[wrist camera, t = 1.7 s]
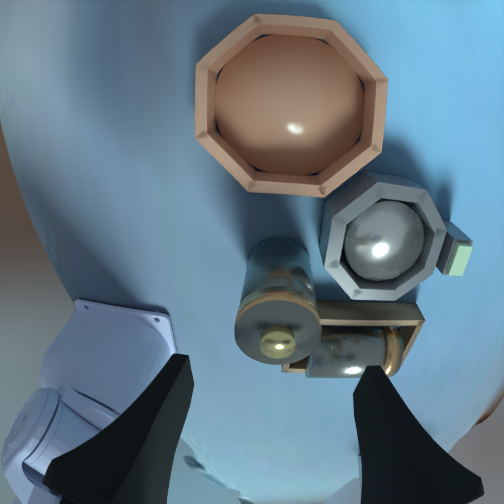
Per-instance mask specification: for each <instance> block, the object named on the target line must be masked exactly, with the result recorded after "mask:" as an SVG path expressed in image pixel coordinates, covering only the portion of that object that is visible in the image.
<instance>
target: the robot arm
mask: <svg viewBox="0 0 504 504" xmlns="http://www.w3.org/2000/svg"><path fill="white" fill-rule="evenodd" d="M74 305H75V308H76V311H75V313H74V314H73V315H72V316H71V318H70V319H69V320H68V322H67V323H66V324H65V326H64V327H63V329H62V330H61V331H60V333H59V334H58V335H57V336H56V338H55V339H54V341H53V342H52V343H51V345H50V346H49V348H48V349H47V351H46V352H45V354H44V357H43V359H42V363H41V368H40V381H41V385H42V388H40V389H38V390H36V391H35V392H34V393H33V394H32V395H31V397H30V398H29V399H28V401H27V402H26V403H25V404H24V406H23V407H22V409H21V410H20V412H19V414H18V415H17V417H16V419H15V421H14V423H13V425H12V427H11V430H10V433H9V434H8V436H7V438H6V439H5V441H4V444H3V447H2V452H1V461H2V470H3V473H4V475H5V477H6V479H7V481H8V482H9V484H10V486H11V487H12V489H13V491H14V492H15V494H16V497H15V498H14V500H13V501H12V503H11V504H166V503H167V495H168V488H169V482H170V476H171V470H172V464H173V460H174V455H175V451H176V447H177V444H178V441H179V438H180V435H181V432H182V429H183V426H184V423H185V420H186V417H187V413H188V410H189V407H190V403H191V398H192V393H193V388H194V380H193V376H192V371H191V366H190V360H189V355H183V354H177V351H176V346H175V341H174V337H173V332H172V327H171V322H170V318H169V316H168V315H166V314H164V313H158V312H151V311H144V310H137V309H131V308H125V307H119V306H113V305H107V304H101V303H96V302H90V301H85V300H80V299H77V300H76V301H75V302H74ZM157 318H158V319H157ZM353 403H354V417H355V423H356V429H357V435H358V441H359V448H360V454H361V464H362V489H361V504H468V503H470V502H472V501H473V500H475V499H477V498H479V497H481V496H483V495H484V489H483V484H482V480H481V477H479V476H477V475H476V474H474V473H473V472H471V471H470V470H468V469H466V468H465V467H464V466H462V465H461V464H460V463H458V462H457V461H456V460H455V459H453V458H452V457H451V456H450V455H449V454H448V453H447V452H446V451H445V450H443V449H442V448H441V447H440V446H439V445H438V444H437V443H436V442H435V441H434V440H433V439H432V437H431V436H430V435H429V434H428V433H427V432H426V431H425V429H424V428H423V427H422V426H421V425H420V423H419V422H418V421H417V419H416V418H415V417H414V415H413V414H412V413H411V411H410V410H409V408H408V407H407V405H406V404H405V403H404V401H403V400H402V398H401V397H400V395H399V394H398V392H397V391H396V389H395V387H394V386H393V384H392V383H391V381H390V380H389V378H388V376H387V375H386V373H385V372H384V370H383V368H382V367H381V366H380V365H373V366H366V368H365V371H364V373H363V375H362V377H361V379H360V381H359V383H358V385H357V387H356V389H355V391H354V392H353Z"/></svg>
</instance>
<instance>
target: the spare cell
mask: <svg viewBox="0 0 504 504" xmlns="http://www.w3.org/2000/svg"><path fill="white" fill-rule="evenodd" d="M402 358H403V338H402V334H401V331H400V329H399V328H398V327H397V326H346V325H321V338H320V342H319V344H318V346H317V348H316V349H315V350H314V351H313V352H312V353H311V354H310V355H308V356H307V357H305V375H306V377H307V378H361V377H362V375H363V373H364V371H365V368H366V366H373V365H380V366H381V367H382V368H383V370H384V372H385V373H386V375H387V376H388V377H390V376H394V375H395V374H396V373H397V372H398V370H399V368H400V365H401V362H402Z"/></svg>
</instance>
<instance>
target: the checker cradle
mask: <svg viewBox="0 0 504 504" xmlns="http://www.w3.org/2000/svg"><path fill="white" fill-rule="evenodd" d="M380 198H386V199H393V200H400V201H407V202H410V204H411V206H412V207H413V209H414V211H415V213H416V214H417V215H418V216H419V218H420V220H421V222H422V225H423V229H424V243H423V247H422V250H421V253H420V255H419V257H418V258H417V260H416V261H415V263H414V264H413V265H412V266H411V267H410V268H409V269H408V270H407V271H405V272H404V273H402V274H401V275H399V276H397V277H395V278H392V279H389V280H383V281H374V280H369V279H366V278H363V277H362V276H360V275H358V274H357V273H356V272H355V271H354V270H353V269H352V267H351V266H350V264H349V263H348V262H347V260H346V259H345V258H344V257H343V255H342V254H341V251H342V246H343V241H344V235H345V230H346V224H348V223H349V222H350V221H352V220H353V219H354V218H356V217H357V216H358V215H360V214H361V213H362V212H363V211H365V210H366V209H367V208H369V207H370V206H371V205H373V204H374V203H375V202H376V201H378V200H379V199H380ZM472 242H473V241H472V240H471V239H470V238H469V237H468V236H467V235H465V234H464V233H463V232H462V231H461V230H460V229H459V228H458V227H456V226H455V225H454V224H453V223H452V222H451V221H445V220H442V219H441V216H440V214H439V212H438V210H437V208H436V206H435V205H434V203H433V201H432V199H431V197H430V195H429V193H428V191H427V190H426V189H425V188H423V187H422V186H420V185H419V184H417V183H416V182H414V181H413V180H411V179H410V178H407V177H401V176H395V175H389V174H382V173H376V172H369V171H363V172H362V173H361V174H360V175H358V176H357V177H356V178H354V179H353V180H352V181H351V182H349V183H348V184H347V185H346V186H344V187H343V188H342V189H340V190H339V191H338V192H337V193H335V194H334V195H333V196H332V197H330V198H329V199H328V200H326V201H325V207H324V215H323V222H322V229H321V236H320V243H319V249H320V253H321V257H322V261H323V265H324V268H325V269H326V270H327V271H328V272H329V274H330V275H331V276H332V277H333V278H334V279H335V280H336V282H337V283H338V284H339V285H340V286H341V287H342V288H343V290H344V291H345V292H346V293H347V294H348V295H349V297H350V298H351V299H354V300H388V301H395V300H397V299H398V298H400V297H401V296H403V295H404V294H406V293H407V292H408V291H410V290H411V289H413V288H414V287H415V286H417V285H418V284H420V283H421V282H422V281H424V280H425V279H426V278H428V277H429V276H430V275H432V274H433V271H434V269H435V266H436V267H437V268H438V269H439V271H440V272H441V273H442V274H445V275H453V276H462V275H463V273H464V270H465V268H466V265H467V262H468V259H469V257H470V254H471V251H472V248H473V247H472V246H471V245H472Z"/></svg>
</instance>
